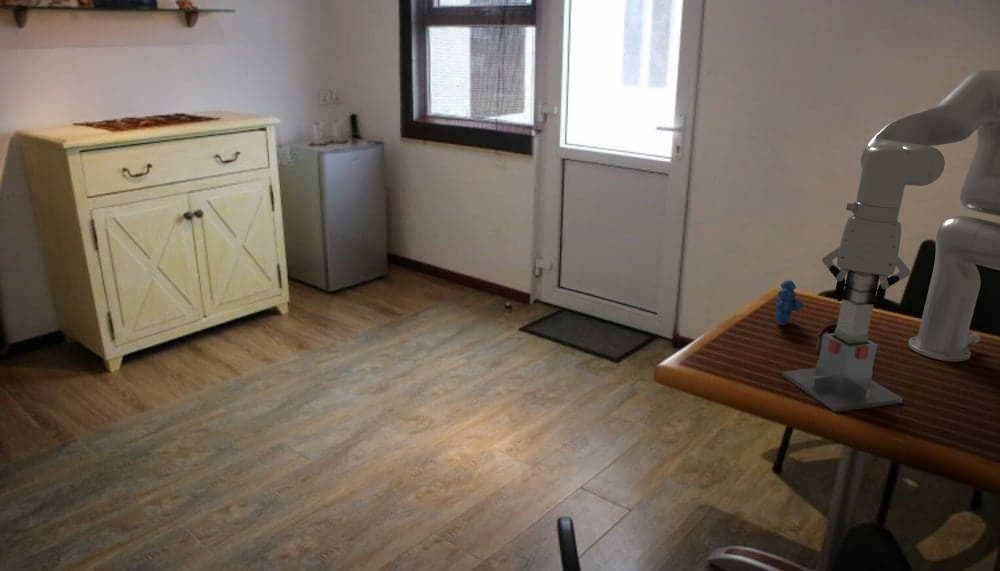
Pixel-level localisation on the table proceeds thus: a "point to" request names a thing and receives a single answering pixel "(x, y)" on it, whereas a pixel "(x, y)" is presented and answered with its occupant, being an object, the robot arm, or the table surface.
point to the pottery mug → (827, 328)
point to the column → (856, 308)
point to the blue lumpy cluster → (786, 302)
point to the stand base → (843, 377)
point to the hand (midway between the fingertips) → (857, 301)
